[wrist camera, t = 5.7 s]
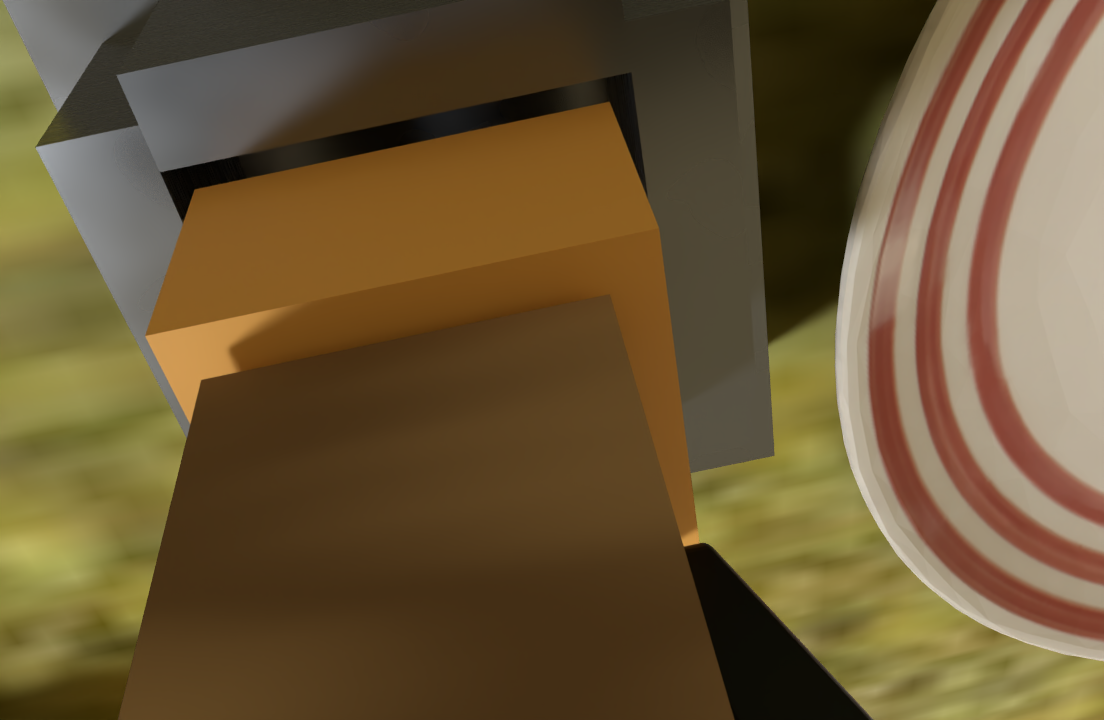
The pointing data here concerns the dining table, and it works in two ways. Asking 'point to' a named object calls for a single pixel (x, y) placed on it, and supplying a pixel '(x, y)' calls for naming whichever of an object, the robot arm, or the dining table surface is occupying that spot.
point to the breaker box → (418, 136)
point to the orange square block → (427, 259)
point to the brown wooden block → (427, 540)
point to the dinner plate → (986, 318)
